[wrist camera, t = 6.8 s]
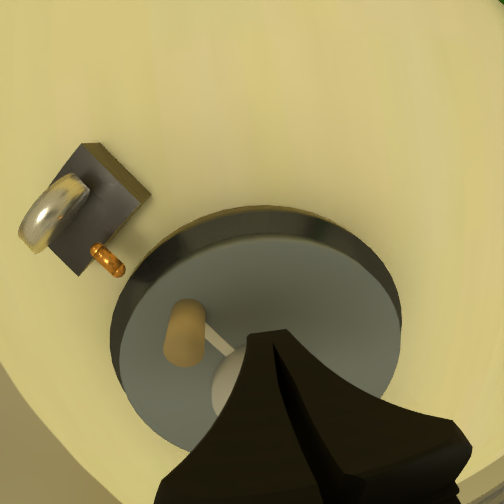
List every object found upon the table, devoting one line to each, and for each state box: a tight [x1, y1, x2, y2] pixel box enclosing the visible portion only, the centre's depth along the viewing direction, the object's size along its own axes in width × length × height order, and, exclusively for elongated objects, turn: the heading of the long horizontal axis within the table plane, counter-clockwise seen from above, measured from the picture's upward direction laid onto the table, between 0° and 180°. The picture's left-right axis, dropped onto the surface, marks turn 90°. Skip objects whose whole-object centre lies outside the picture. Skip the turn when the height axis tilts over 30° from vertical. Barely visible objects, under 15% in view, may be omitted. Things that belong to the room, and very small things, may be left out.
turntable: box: [119, 233, 401, 452], centre depth 16 cm, size 16×16×4 cm
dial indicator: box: [18, 143, 151, 278], centre depth 13 cm, size 6×5×6 cm
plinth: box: [110, 205, 402, 392], centre depth 19 cm, size 18×18×2 cm
